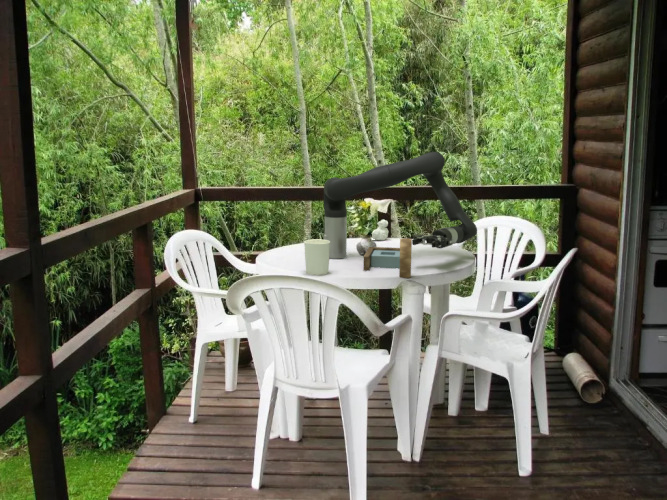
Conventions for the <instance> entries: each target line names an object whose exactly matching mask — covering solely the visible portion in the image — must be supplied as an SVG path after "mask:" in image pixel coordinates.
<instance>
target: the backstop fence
mask: <svg viewBox="0 0 667 500" xmlns="http://www.w3.org/2000/svg"><path fill="white" fill-rule="evenodd" d="M374 250H386V251H400V247H385V246H368V248H367V250H366V252H365V254H364V255H363V271H364V270H369V271H370V269H371V256H372V254H373V252H374Z"/></svg>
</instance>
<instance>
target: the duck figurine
mask: <svg viewBox="0 0 667 500" xmlns="http://www.w3.org/2000/svg"><path fill="white" fill-rule="evenodd" d="M376 224H377V225H378V227H377V228H375V229H374V230H373V231H372V232H371V234H372V238H373V239H375V240H376V241H380V242H381V241H385V240H387V238H388V236H389V232H390V231H389V230H388V228H387V227H388V226H389V222H388V220H387V219H386V220H385V219H381V220H380V221H378V222H377V223H376ZM375 240H374V241H375Z"/></svg>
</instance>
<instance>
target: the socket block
mask: <svg viewBox="0 0 667 500" xmlns="http://www.w3.org/2000/svg"><path fill="white" fill-rule="evenodd" d="M371 267H380V268H379V269H396V268H398V270H399V269H400V251H386V250H374V252H373V254H372V256H371ZM371 267H370V268H371Z"/></svg>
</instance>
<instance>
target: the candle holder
mask: <svg viewBox="0 0 667 500" xmlns="http://www.w3.org/2000/svg"><path fill="white" fill-rule="evenodd" d="M303 243H304V244H303V247H304V259H305V273H306V274H308V275H312V276H323V275H327V274H328V273H329V267H330V258H329V253H330V241H329V240H324V238H323V239H320V238H319V239H317V238H315V239H307V240H304V241H303Z"/></svg>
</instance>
